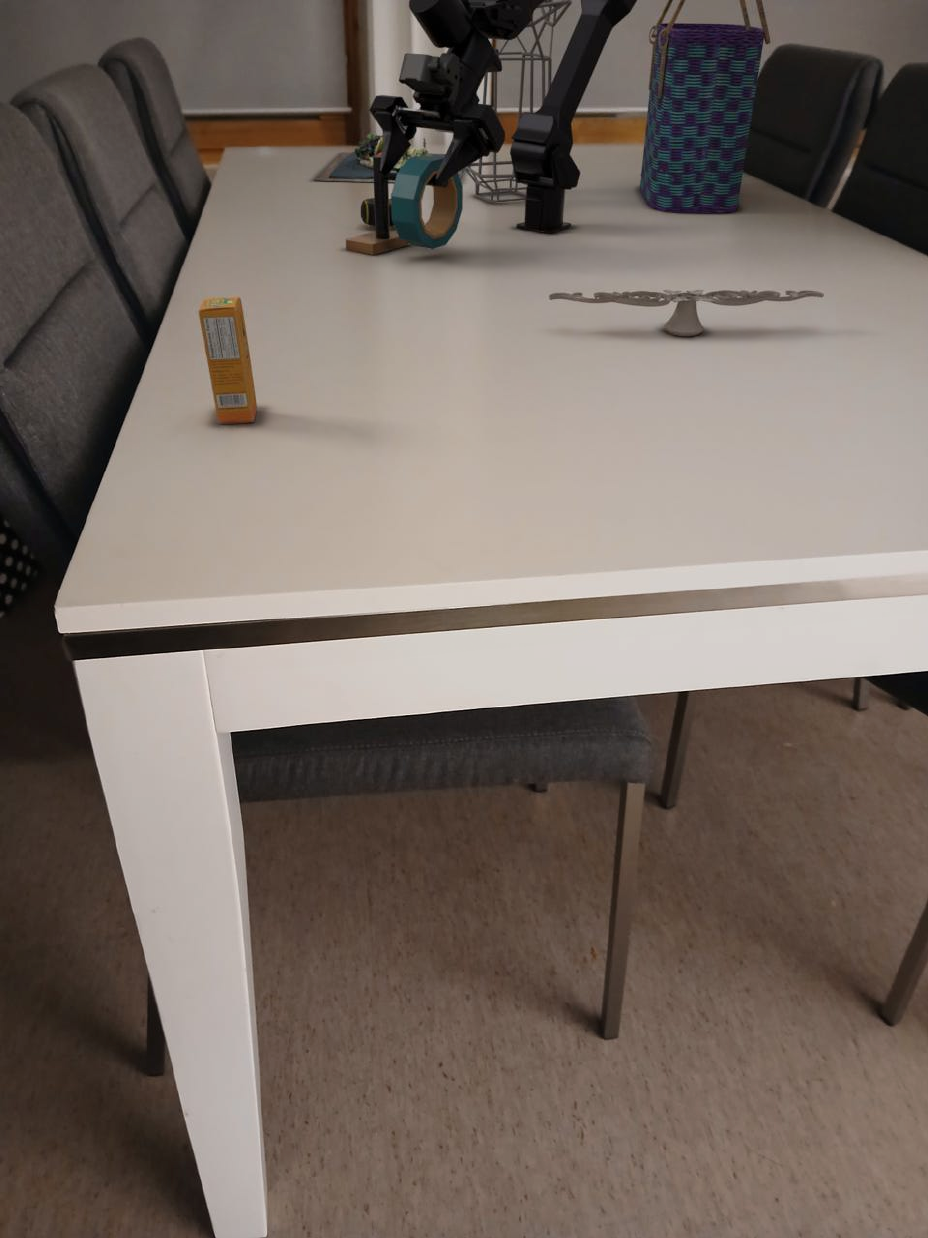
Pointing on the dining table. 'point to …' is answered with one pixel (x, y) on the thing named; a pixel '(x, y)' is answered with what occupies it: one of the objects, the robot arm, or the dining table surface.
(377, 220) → the hook
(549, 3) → the geometric lantern
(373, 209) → the tape measure
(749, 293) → the wall hook
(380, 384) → the dining table surface
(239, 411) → the supplement box
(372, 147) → the plated dish
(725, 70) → the basket
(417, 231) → the tape roll
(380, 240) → the hook base
